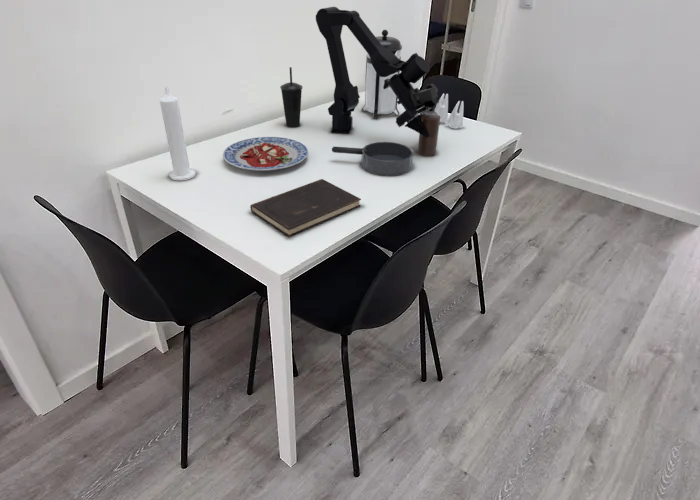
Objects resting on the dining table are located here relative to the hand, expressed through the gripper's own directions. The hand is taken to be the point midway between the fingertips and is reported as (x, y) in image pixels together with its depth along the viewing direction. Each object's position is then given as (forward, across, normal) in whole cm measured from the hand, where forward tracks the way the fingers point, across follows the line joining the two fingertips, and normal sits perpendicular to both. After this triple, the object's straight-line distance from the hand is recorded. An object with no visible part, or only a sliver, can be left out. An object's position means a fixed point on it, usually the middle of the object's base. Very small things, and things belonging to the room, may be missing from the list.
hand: (432, 134), depth 152 cm
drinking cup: (-32, -6, +42) cm, 53 cm away
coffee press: (-20, +25, +30) cm, 43 cm away
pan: (0, -16, +9) cm, 19 cm away
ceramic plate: (-23, -34, +32) cm, 52 cm away
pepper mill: (+4, 0, +6) cm, 7 cm away
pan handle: (-9, -21, +15) cm, 27 cm away
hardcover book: (-2, -52, +11) cm, 53 cm away
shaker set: (-1, +28, +10) cm, 30 cm away
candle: (-30, -58, +40) cm, 76 cm away
